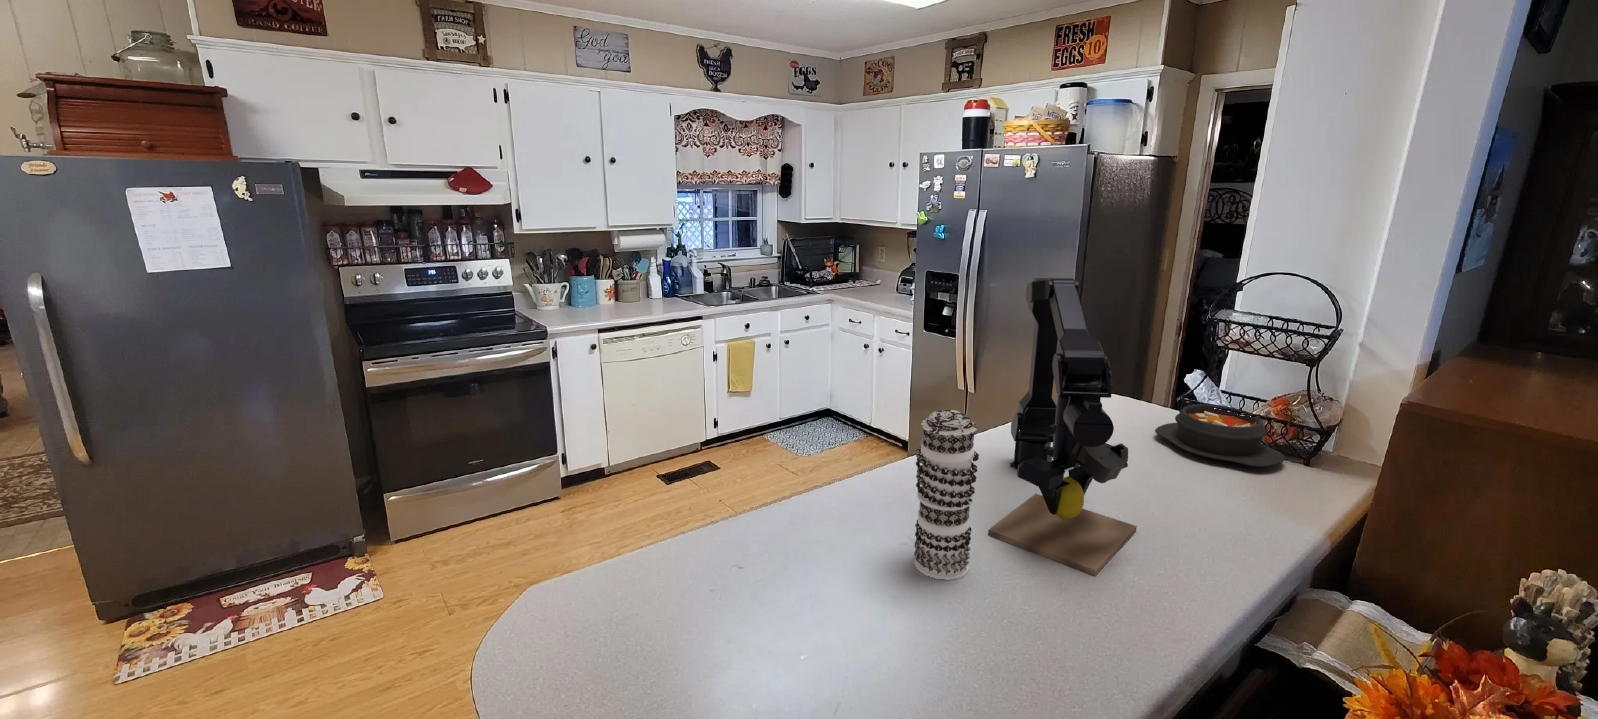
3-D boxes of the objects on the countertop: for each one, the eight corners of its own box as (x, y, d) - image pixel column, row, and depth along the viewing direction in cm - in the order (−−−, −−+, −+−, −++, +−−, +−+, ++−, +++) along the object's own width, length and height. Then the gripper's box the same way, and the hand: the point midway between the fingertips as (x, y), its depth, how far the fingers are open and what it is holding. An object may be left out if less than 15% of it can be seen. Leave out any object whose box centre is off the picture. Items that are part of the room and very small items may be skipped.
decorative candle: (933, 542, 114) (940, 400, 108) (982, 564, 108) (993, 414, 101) (899, 564, 108) (904, 415, 101) (949, 588, 102) (958, 431, 95)
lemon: (1075, 512, 119) (1080, 470, 116) (1085, 529, 113) (1090, 485, 111) (1043, 511, 119) (1047, 469, 117) (1050, 527, 114) (1055, 483, 112)
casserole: (1300, 461, 144) (1308, 424, 141) (1253, 483, 134) (1261, 443, 132) (1183, 425, 164) (1188, 391, 162) (1135, 441, 155) (1140, 406, 153)
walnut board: (987, 534, 117) (988, 529, 116) (1035, 498, 129) (1035, 493, 129) (1095, 576, 105) (1096, 570, 104) (1136, 531, 117) (1136, 525, 117)
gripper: (1079, 452, 100) (1068, 546, 105) (1154, 426, 110) (1142, 514, 114) (1019, 428, 109) (1011, 516, 114) (1093, 406, 119) (1084, 488, 123)
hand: (1064, 508), depth 116 cm, fingers closed on lemon, 5 cm apart
